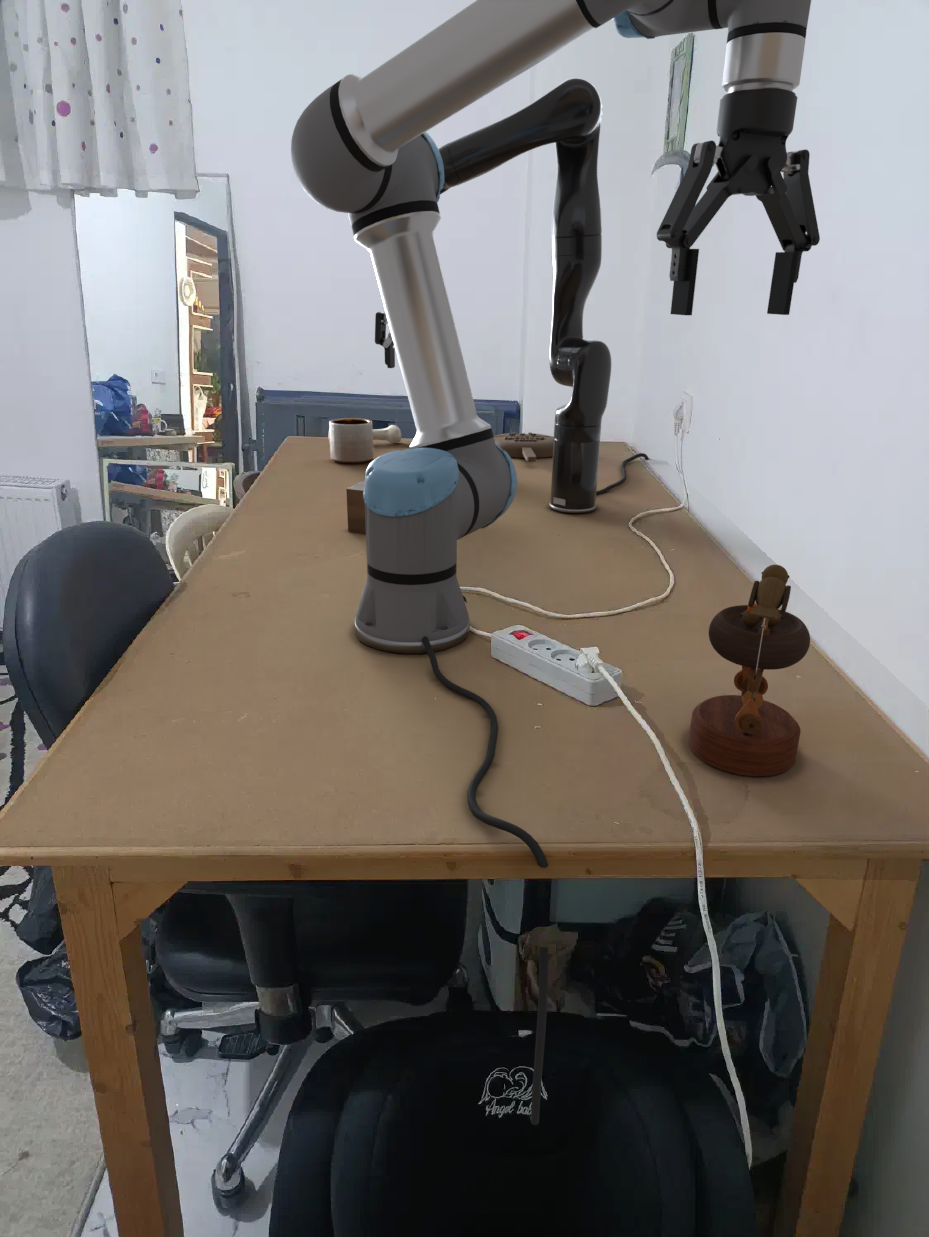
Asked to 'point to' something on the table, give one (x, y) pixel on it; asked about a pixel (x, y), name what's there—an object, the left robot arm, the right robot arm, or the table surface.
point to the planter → (351, 440)
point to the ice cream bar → (526, 445)
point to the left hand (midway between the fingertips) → (730, 315)
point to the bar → (356, 508)
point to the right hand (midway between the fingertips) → (410, 369)
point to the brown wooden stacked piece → (752, 684)
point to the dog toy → (385, 434)
